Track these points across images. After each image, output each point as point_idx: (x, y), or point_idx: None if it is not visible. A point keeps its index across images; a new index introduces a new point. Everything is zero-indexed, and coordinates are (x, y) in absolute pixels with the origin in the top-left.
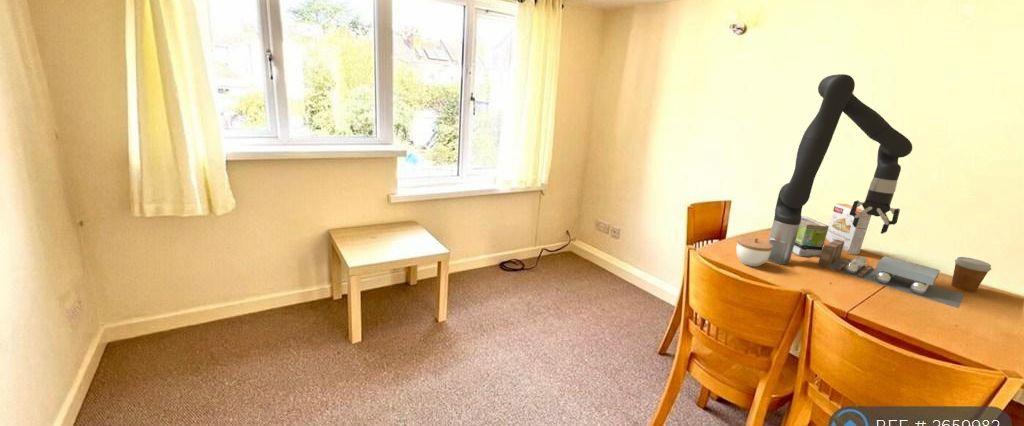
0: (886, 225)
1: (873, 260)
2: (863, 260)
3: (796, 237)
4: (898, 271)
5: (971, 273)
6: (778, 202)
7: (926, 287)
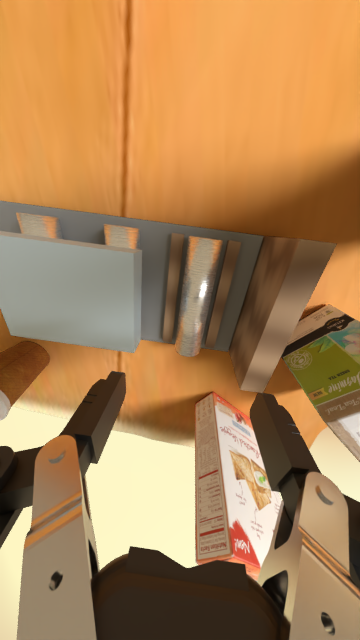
0: (74, 432)
1: (170, 400)
2: (181, 331)
3: None
4: (76, 243)
5: None
6: None
7: None
